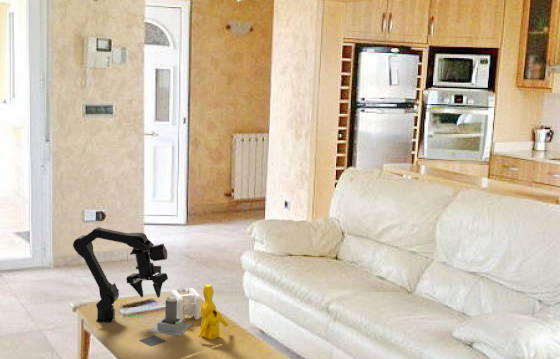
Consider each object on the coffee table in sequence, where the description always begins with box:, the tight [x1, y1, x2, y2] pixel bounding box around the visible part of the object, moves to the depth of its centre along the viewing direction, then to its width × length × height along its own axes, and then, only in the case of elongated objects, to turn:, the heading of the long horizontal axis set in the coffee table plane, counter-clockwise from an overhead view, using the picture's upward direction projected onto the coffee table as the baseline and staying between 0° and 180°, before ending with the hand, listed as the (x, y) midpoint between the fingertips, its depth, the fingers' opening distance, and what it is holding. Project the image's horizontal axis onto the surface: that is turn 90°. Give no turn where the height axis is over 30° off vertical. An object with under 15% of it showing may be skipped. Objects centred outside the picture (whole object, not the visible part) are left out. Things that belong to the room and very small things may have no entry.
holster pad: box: [138, 335, 167, 347], centre depth 276 cm, size 8×8×1 cm
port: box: [148, 316, 193, 337], centre depth 290 cm, size 14×14×4 cm
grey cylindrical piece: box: [164, 296, 177, 324], centre depth 289 cm, size 5×5×13 cm
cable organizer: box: [170, 287, 201, 321], centre depth 304 cm, size 15×11×12 cm
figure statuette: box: [198, 284, 229, 340], centre depth 283 cm, size 18×8×22 cm, turn 142°
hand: (150, 297), depth 294 cm, fingers open, 9 cm apart
